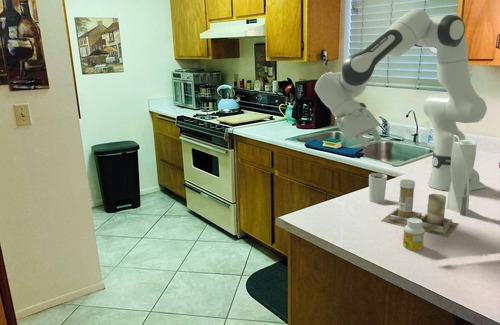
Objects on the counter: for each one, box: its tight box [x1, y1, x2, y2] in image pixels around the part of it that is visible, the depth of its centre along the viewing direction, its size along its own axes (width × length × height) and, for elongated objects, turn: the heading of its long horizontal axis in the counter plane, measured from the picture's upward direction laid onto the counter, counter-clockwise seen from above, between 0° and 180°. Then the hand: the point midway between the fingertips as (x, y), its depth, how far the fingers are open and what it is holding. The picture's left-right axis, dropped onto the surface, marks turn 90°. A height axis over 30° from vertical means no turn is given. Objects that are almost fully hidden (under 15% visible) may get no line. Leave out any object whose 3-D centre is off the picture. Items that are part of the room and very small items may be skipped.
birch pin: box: [426, 193, 447, 227], centre depth 128 cm, size 5×5×10 cm
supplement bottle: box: [402, 218, 425, 252], centre depth 115 cm, size 5×5×10 cm
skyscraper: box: [445, 135, 477, 217], centre depth 139 cm, size 8×8×28 cm
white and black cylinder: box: [368, 172, 388, 204], centre depth 157 cm, size 7×7×10 cm
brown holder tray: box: [380, 207, 460, 238], centre depth 132 cm, size 21×13×3 cm, turn 50°
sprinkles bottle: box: [398, 178, 416, 219], centre depth 134 cm, size 5×5×14 cm
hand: (373, 142), depth 137 cm, fingers open, 8 cm apart
